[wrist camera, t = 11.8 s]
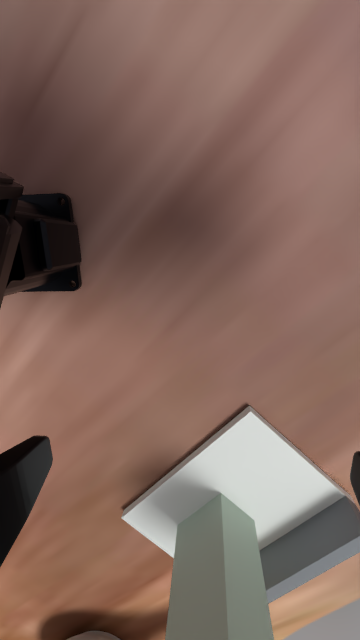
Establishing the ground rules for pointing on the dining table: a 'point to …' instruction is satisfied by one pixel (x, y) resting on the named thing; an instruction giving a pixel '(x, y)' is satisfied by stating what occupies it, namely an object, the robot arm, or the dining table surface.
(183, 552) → the green carton
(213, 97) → the dining table surface
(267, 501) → the white plate with rail
